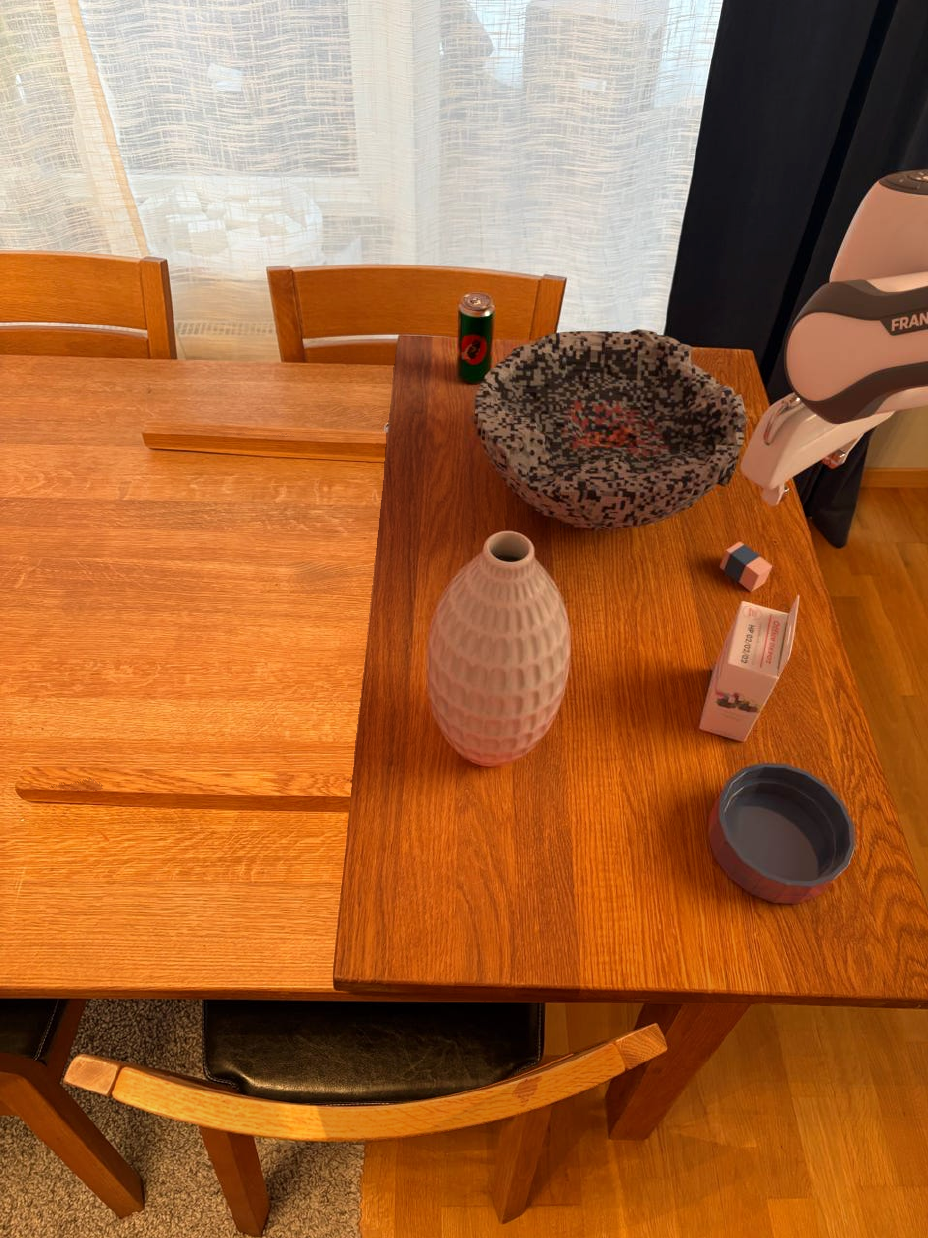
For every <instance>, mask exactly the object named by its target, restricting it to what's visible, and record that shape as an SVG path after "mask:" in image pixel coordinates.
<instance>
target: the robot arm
mask: <svg viewBox="0 0 928 1238" xmlns="http://www.w3.org/2000/svg"><path fill="white" fill-rule="evenodd" d="M783 365H784V366H783V368H784V373H785V376H786V380H787V382H788V385H789V387H790V388H791V390H792V392H791V393H789V394H788V395H786V396H784V397H783V398H780V399H779V400H777V401H776V402H774V403H773V404H772V405H770V406H769V407H768V408H767V409H766V411H765V412H763V415H762V416H761V417H760V419H759V421H758V423H757V425H756V427H755V429H754V431H753V433H752V435H751V437H750V440H749V442H748V444H747V447H746V449H745V451H744V453H743V456H742V459H741V462H740V464H739V468H740V471H741V473H742V475H743V476H744V477H745V478H747V479H748V480H750V481H751V482H752V483H753V484H755V485H756V486H758V487H760V488H761V489H762V493H761V499H762V501H764V502H765V503H767V504H768V505H770V506H771V507H776V506H777V505H779V504H780V503H782V502H783V501H785V500H786V497H787V495H788V493H789V490H790V488H789V487H788V486H786V485H785V483H787V482H789V480H790V479H792V478H794V477H795V476H797V475H798V474H800V473H802V472H803V471H805V470H807V469H809V468H810V467H812V466H813V465H814V464H816V463H818V462H820V461H821V462H822V464H824V465H825V466H828V468H829V469H835V468H837V467H839V466H840V465H842V464H844V463H845V461H846V459H847V457H848V455H849V453H850V452H851V450H852V449H853V448H854V447H855V446H856V445H857V443H858V442H859V441H860V440H861V438H862V437H863V436H864V434H865V433H867V432H868V431H870V430H872V429H873V428H875V427H876V426H879V425H880V424H881V423H883V422H885V421H886V420H888V419H889V418H891V417H892V416H893V415H894V413H895V412H898V411H902V410H909V409H914V408H918V407H919V408H921V407H926V406H928V169H927V168H926V169H925V168H924V169H915V170H914V169H913V170H906V171H905V170H904V171H900V172H894V173H890V174H887V175H886V176H883V177H882V178H880V179H878V180H877V181H876V182H875V183H874V184H873V185H872V186H871V188H870V189H869V190H868V191H867V193H866V194H865V196H864V197H863V198H862V200H861V202H860V204H859V206H858V208H857V210H856V212H855V213H854V216H853V218H852V220H851V221H850V224H849V226H848V228H847V229H846V233H845V235H844V237H843V240H842V242H841V244H840V247H839V250H838V252H837V255H836V257H835V259H834V263H833V266H832V268H831V272H830V274H829V282H827V283H825V284H823V285H822V286H820V287H819V288H818V289H817V290H815V292H814V293H813V294H812V296H811V297H809V299H808V301H807V302H806V303H805V304H804V305H803V307H802V308H801V310H800V311H799V313H798V314H797V316H796V318H795V319H794V321H793V323H792V325H791V327H790V329H789V331H788V333H787V336H786V340H785V344H784V349H783Z"/></svg>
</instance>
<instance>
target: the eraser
mask: <svg viewBox="0 0 928 1238" xmlns="http://www.w3.org/2000/svg"><path fill="white" fill-rule="evenodd" d="M719 568H720V569H721V570H722V571H723V572H724V573H725V574H726V575H727V576H729V577H730V578H732V579H733V580H734V581H735V582H736V583H737V584H738V583H739V584H740V585H741V586H743V587H744V588H745V589H746V590H748V591H749V592H750V593H752V592H754V591H756V590H757V589H758V588H760V587H761V586H763V585H764V584H765V583H766V581H767V579H768V577H769V575H770V572H771V570H772V568H773V565H772V564H771V563H769V562H768V561H766V560H765V559H764V558H763V557H762V556H761V555H760V554H758V553H757V552H756V551H755V550H753V549H752V548H750V546H748V545H746V544H744V543H742V542H741V541H738V542H736V543H734V544H733V545H732V546H730V547H729V548H727V549H725V551H724V554H723V557H722V559H721V562H720V564H719Z"/></svg>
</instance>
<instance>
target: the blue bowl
mask: <svg viewBox="0 0 928 1238" xmlns="http://www.w3.org/2000/svg"><path fill="white" fill-rule="evenodd" d="M707 829H708V830H707V838H708V841H709V845H710V848H711V850H712V854H713V856H714V859H715V861H716V862H717V863H718V865H719V866H720V867H721V868H722V870H723V871H724V873H725V874H726V876H727V877H728V878H729V879H730V880H731V881H733V882H734V883H735V884H736V885H738V886H739V887H741V889H743V890H745V892H747V893H748V894H750V895H752V896H755V897H758V898H760V899H763V900H766V901H768V902H770V903H773V904H791V905H792V904H794V905H799V904H802V903H804V902H807V901H810V900H813V899H816V898H819V897H820V896H821V895H822V894H823V893H824V892H825V891H826V890H827V889H828V888H829V887H830V886H831V885H832V884H833V883H834V882H835V881H836V880H837V879H838V878H839V877H840V876H841V875H842V874H843V873H844V871H846V870H847V868H848V867H849V866H850V863H851V860H852V857H853V855H854V852H855V849H856V836H855V826H854V822H853V820H852V818H851V816H850V813H849V811H848V809H847V807H846V804H845V803H844V801H843V800H841V798H840V797H839V796H838V795H837V794H836V793H835V792H834V790H833V789H832V788H831V787H830V785H828V784H827V783H826V782H824V781H822V780H821V779H820V778H818V777H817V776H815V775H814V774H812V773H811V772H809V771H808V770H805V769H802V768H799V767H797V766H793V765H791V764H788V763H783V762H782V763H780V762H777V763H776V762H760V763H755V764H753V765H749V766H745V767H742V768H740V770H739V771H737V772H736V773H735V774H734V775H732V776H731V777H730V778H729V779H727V781H726V782H725V784H724V786H723V789H721V792H720V793H719V796H718V797H717V799H716V801H715V803H714V804H713V807H712V809H711V811H710V813H709V815H708V823H707Z"/></svg>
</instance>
